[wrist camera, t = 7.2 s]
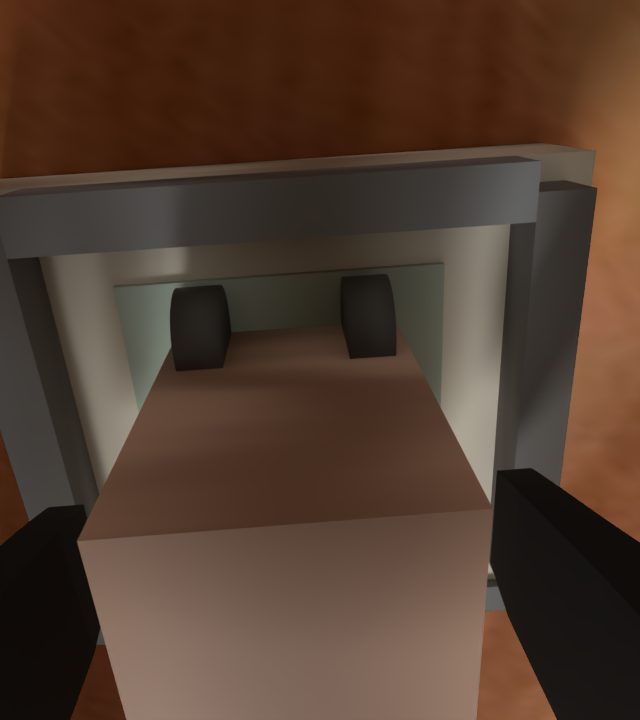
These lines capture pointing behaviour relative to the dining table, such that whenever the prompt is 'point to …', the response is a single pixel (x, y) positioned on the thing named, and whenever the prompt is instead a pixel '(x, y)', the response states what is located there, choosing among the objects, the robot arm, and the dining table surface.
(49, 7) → the dining table surface
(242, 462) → the wooden trolley
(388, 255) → the dock
